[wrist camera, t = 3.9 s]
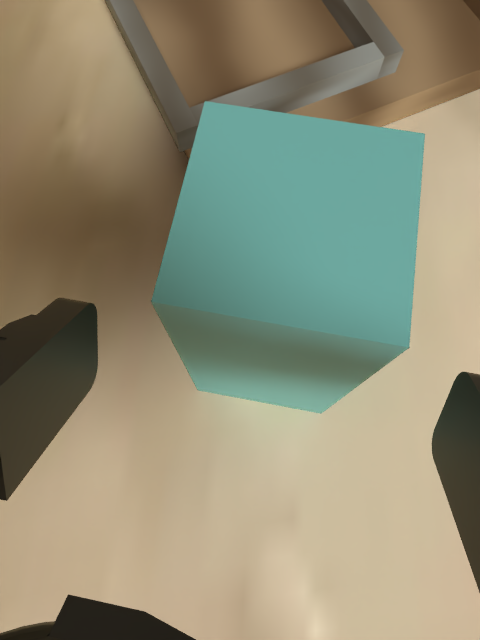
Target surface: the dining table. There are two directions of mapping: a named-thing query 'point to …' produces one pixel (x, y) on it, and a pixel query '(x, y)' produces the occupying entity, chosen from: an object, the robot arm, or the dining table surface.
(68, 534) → the dining table surface
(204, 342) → the teal block
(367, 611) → the dining table surface
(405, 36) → the walnut stand
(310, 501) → the dining table surface
